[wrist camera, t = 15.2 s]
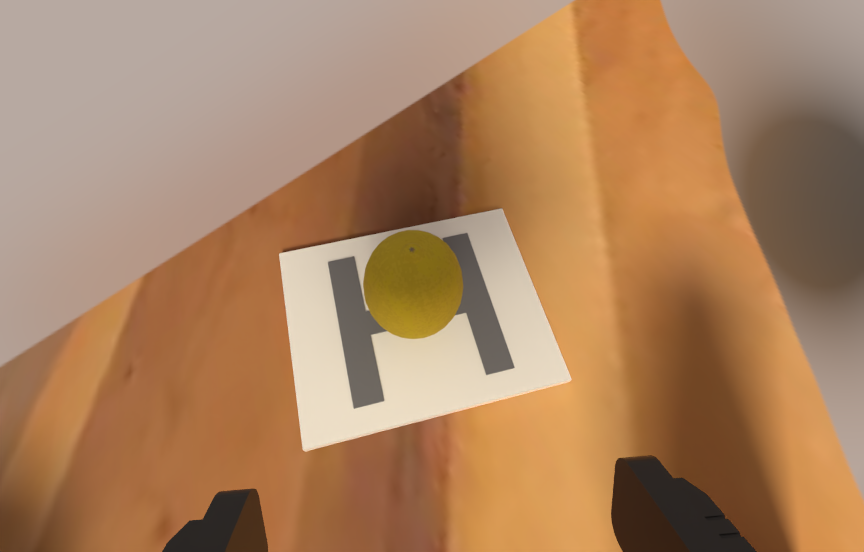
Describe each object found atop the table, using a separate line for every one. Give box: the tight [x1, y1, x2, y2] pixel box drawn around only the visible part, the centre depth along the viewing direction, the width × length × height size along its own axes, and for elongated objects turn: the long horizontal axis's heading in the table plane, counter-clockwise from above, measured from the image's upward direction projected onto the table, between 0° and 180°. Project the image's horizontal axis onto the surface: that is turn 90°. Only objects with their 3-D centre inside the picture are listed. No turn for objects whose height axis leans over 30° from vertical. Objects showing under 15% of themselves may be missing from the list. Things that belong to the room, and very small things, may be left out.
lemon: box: [363, 230, 463, 339], centre depth 26 cm, size 6×6×8 cm
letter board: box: [279, 208, 572, 451], centre depth 30 cm, size 16×13×1 cm
